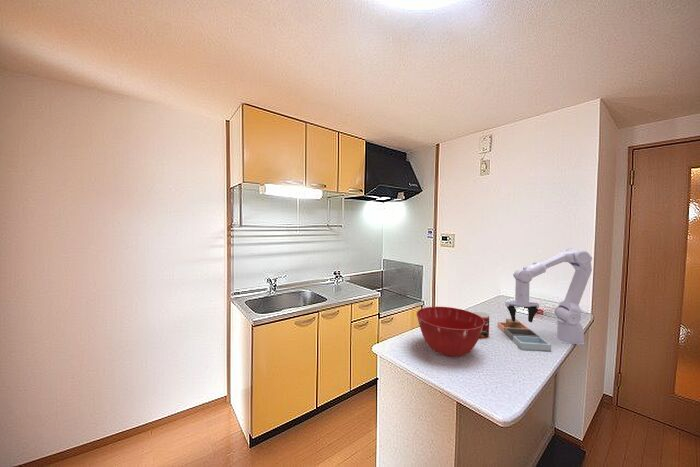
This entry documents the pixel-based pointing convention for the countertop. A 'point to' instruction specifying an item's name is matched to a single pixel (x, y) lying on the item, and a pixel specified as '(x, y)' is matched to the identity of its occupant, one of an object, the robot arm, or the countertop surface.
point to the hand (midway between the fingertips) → (521, 321)
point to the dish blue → (532, 343)
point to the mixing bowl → (450, 330)
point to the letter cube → (513, 323)
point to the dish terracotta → (503, 325)
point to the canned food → (486, 326)
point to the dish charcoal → (520, 333)
